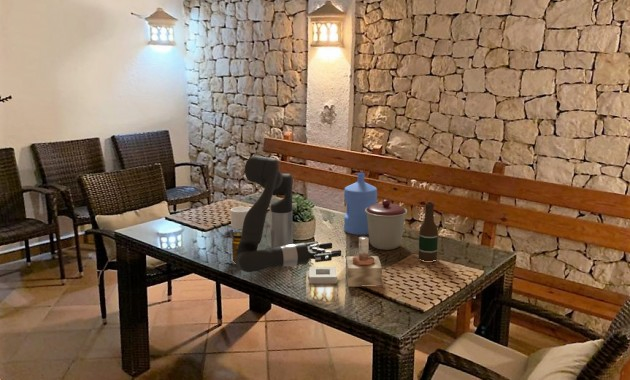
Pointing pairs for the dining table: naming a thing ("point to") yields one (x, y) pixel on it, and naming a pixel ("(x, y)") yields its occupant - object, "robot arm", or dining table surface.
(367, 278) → the block
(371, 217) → the canister
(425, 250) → the beer bottle
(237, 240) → the condiment
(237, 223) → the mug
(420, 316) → the dining table surface
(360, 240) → the pin
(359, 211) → the water jug
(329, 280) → the pin stand
